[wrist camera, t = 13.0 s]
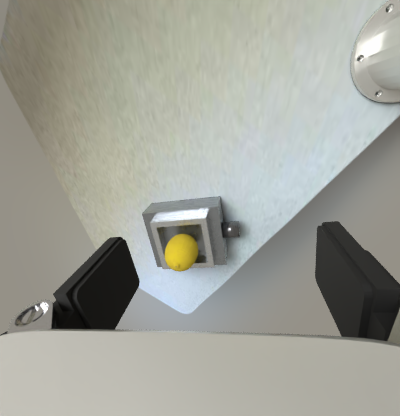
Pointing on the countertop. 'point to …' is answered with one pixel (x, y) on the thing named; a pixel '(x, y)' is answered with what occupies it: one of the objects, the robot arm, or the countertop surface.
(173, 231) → the housing
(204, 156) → the countertop surface
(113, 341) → the robot arm
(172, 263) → the lemon
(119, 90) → the countertop surface
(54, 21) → the countertop surface
